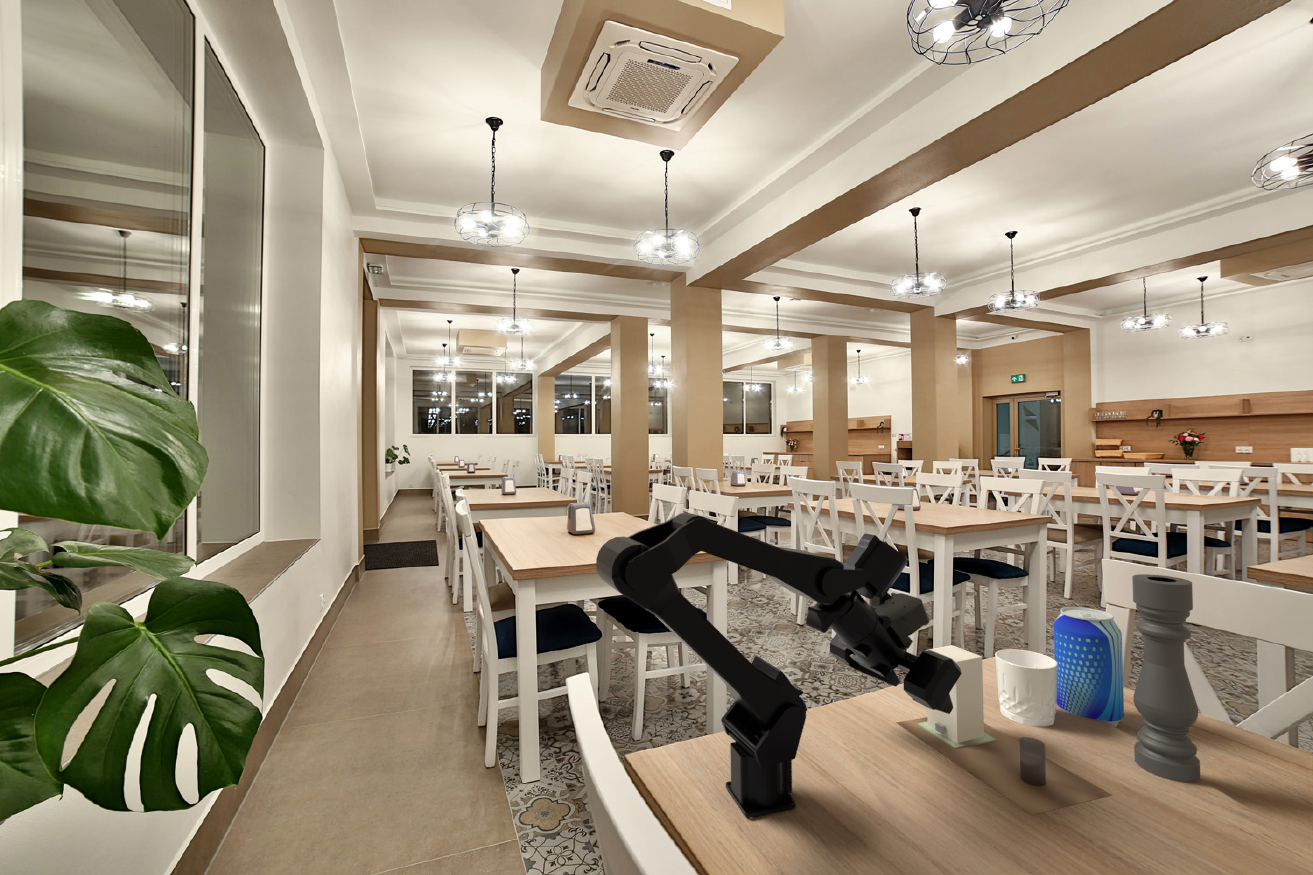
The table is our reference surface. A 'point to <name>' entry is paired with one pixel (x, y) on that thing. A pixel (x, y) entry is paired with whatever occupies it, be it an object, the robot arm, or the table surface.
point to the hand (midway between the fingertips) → (922, 696)
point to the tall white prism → (962, 699)
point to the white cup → (1027, 686)
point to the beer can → (1089, 664)
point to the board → (1012, 768)
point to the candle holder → (1165, 679)
